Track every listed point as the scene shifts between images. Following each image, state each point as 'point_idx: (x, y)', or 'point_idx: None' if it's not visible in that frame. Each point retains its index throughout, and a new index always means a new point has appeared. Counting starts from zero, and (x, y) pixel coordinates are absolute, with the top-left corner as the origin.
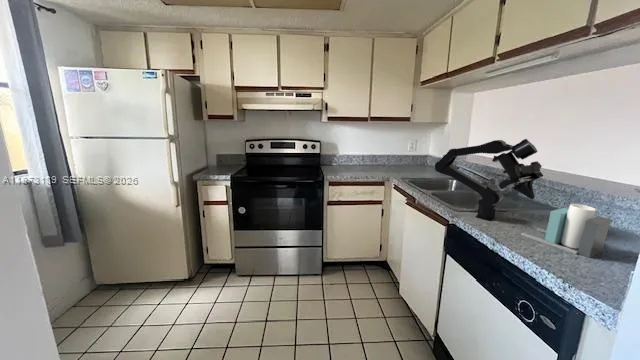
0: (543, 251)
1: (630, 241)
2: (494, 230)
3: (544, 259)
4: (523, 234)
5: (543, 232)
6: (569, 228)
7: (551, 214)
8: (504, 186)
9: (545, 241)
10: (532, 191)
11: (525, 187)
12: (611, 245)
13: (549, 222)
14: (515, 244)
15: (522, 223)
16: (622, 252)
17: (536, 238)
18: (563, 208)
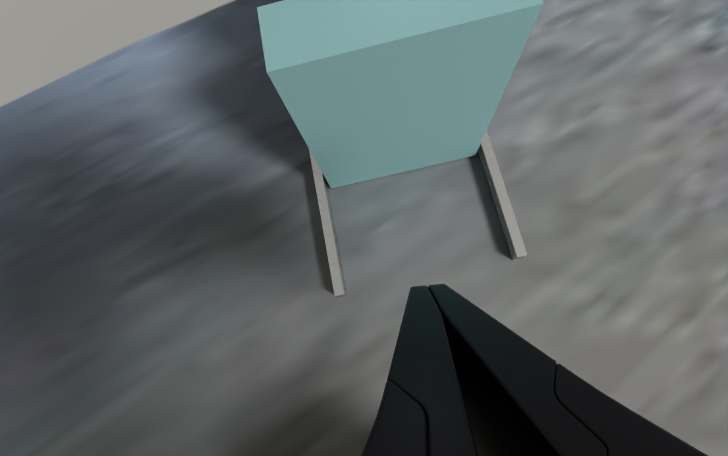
0: (588, 76)
1: (41, 97)
2: (657, 359)
3: (662, 19)
4: (521, 243)
5: (339, 257)
6: None
7: (529, 21)
8: None
9: (487, 138)
10: (424, 348)
11: (692, 450)
12: (179, 79)
13: (505, 77)
14: (680, 159)
15: (316, 419)
16: (224, 27)
17: (499, 178)
18: (305, 56)
